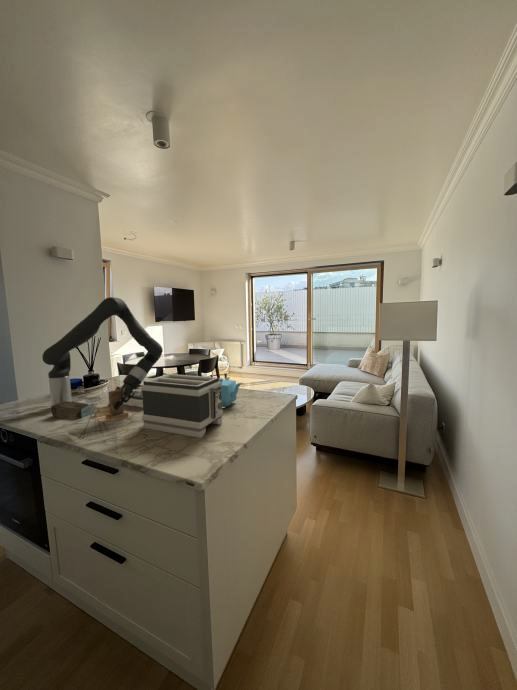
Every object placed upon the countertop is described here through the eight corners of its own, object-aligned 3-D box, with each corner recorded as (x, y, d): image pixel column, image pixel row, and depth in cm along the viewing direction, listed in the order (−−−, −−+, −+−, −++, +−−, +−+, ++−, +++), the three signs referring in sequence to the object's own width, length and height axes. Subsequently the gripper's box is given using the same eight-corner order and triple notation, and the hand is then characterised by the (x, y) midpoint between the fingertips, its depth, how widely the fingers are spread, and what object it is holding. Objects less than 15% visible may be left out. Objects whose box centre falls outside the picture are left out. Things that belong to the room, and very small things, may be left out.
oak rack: (91, 418, 135) (90, 408, 135) (118, 411, 145) (117, 401, 145) (106, 426, 126) (105, 415, 125) (134, 417, 136) (133, 407, 135)
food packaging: (174, 387, 163) (143, 398, 143) (174, 400, 164) (144, 412, 144) (142, 384, 174) (110, 393, 153) (143, 395, 175) (111, 406, 154)
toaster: (209, 440, 110) (207, 388, 108) (142, 428, 122) (139, 381, 120) (231, 423, 127) (230, 378, 124) (170, 414, 139) (168, 373, 137)
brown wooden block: (110, 418, 132) (108, 391, 130) (120, 415, 136) (119, 389, 134) (113, 420, 130) (111, 392, 128) (124, 416, 134) (122, 390, 132)
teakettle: (199, 403, 157) (198, 377, 156) (230, 398, 166) (229, 373, 165) (210, 413, 141) (209, 384, 139) (244, 406, 150) (243, 379, 148)
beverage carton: (81, 421, 133) (80, 407, 132) (51, 418, 138) (49, 405, 138) (95, 415, 141) (94, 402, 140) (66, 412, 146) (65, 400, 145)
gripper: (122, 371, 141) (98, 401, 132) (137, 375, 132) (113, 406, 124) (133, 380, 146) (111, 409, 137) (148, 383, 137) (126, 414, 129)
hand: (112, 407), depth 131 cm, fingers open, 4 cm apart
